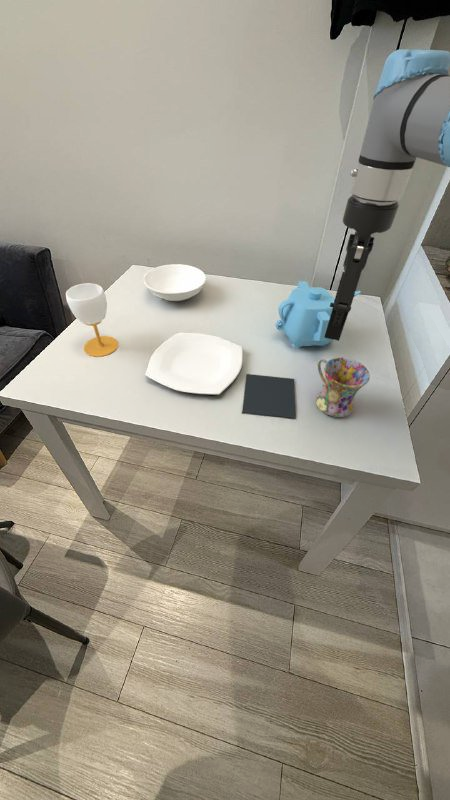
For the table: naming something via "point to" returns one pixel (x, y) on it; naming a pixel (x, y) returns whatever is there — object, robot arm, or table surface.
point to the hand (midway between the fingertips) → (336, 319)
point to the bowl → (174, 281)
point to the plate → (196, 363)
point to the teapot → (306, 315)
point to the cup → (91, 316)
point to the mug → (340, 385)
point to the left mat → (269, 396)
